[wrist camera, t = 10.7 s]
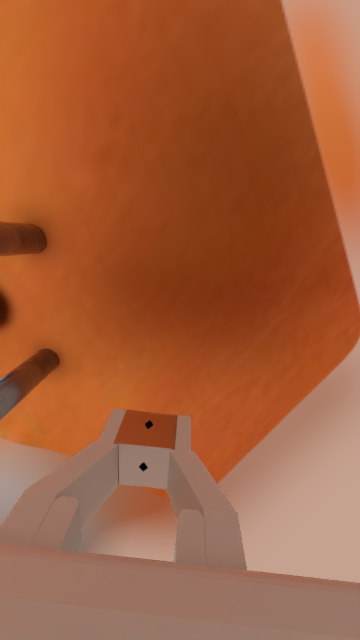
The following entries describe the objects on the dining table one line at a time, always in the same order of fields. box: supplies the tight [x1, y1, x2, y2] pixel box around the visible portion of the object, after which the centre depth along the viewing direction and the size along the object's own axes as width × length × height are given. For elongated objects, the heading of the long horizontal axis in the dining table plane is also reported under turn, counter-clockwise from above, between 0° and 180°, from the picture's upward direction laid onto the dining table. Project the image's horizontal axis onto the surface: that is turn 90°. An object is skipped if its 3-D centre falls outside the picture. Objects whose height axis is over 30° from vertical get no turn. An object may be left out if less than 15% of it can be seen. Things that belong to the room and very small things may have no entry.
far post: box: [0, 349, 59, 420], centre depth 20 cm, size 2×2×9 cm
